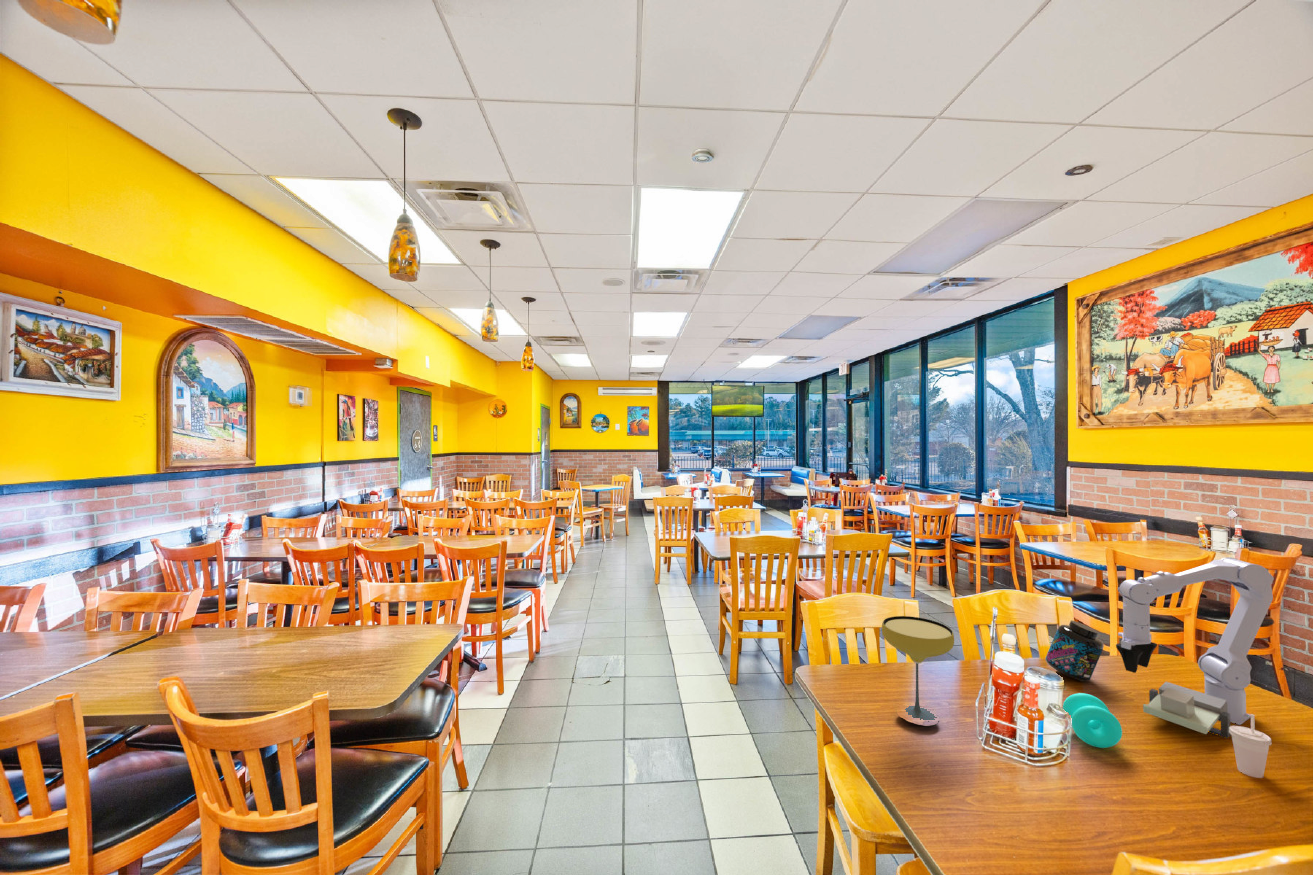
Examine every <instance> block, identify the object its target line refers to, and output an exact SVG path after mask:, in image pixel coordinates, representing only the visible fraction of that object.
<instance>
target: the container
mask: <svg viewBox="0 0 1313 875" xmlns="http://www.w3.org/2000/svg"><path fill="white" fill-rule="evenodd" d="M1099 634H1100V632H1099V630H1098V631H1097V630H1096V629H1094V628H1093V627H1090V626H1088V625H1086V624H1084V623H1082V622H1079V621H1075V620H1070V621H1069V624H1061V625H1059V626H1058V628H1057V629H1056V632H1055V633H1054V636H1053V639H1052V642H1051V643H1050V646H1049V648H1048V651H1047V654H1046V656H1045V662H1046V663H1047V665H1049V666H1050V667H1051V668H1052V669H1054V670H1056V671H1057V672H1059V673H1061V674H1063V675H1065V676H1067V677H1069V678H1072V679H1074V680H1077V681H1079V682H1088V681H1091V679H1092V676H1093V673H1094V671H1095V669H1096V667H1097V665H1098V662H1099V660H1100V658H1101V655H1102V652H1103V650H1104V642H1102V640H1101V639H1099V638H1098V637H1099Z"/></svg>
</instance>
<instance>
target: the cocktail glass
mask: <svg viewBox="0 0 1313 875" xmlns="http://www.w3.org/2000/svg"><path fill="white" fill-rule="evenodd" d="M881 634H882V637H883V638H884V640H885V641H886V642H887V643H888V644H889V645H891V646H892V647H893V648H895V649H897V650H898V651H901V652H903V654H906V655H907V656H909V658H910V659H911V661H913V662H914V664H915V702H914V705H915V706H909V707H908V708H906V709H905V710H906V712H908V715H912V717H913V718H920V720H921V719H923V720H935V719H934V718H937V717H935V716H934V714H932V713H930V711H931V710H930V711H927V709H928V708H926V709H924V708H925V707H923V708H920V707H921V706H920V699H919V698H920V696H919V690H920V688H919V665H920V664H921V663H923V661H925V660H926V659H928V658H933V657H934V658H935V657H939V656H941V655H942V656H943V655H944V654H947V653H948V652H950V651H951V650H952V649H953V648H954V645H955V635H954V631H953V630H952V629H951V628H950V627H949V626H947V625H945V624H943V623H941V622H938V621H935V620H932V619H928V618H923V617H919V616H918V617H917V616H910V615H909V616H907V615H898V616H897V615H895V616H891V617H887V618H885V619H883V621H882V624H881ZM928 722H929V721H928Z"/></svg>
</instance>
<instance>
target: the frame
mask: <svg viewBox="0 0 1313 875" xmlns="http://www.w3.org/2000/svg"><path fill="white" fill-rule="evenodd" d="M1148 694H1149V696H1148V698H1149V700H1148V701H1149V703H1150V702H1151V701H1152V700H1153V699H1154V698H1155V697H1156V696H1157V695H1158V694H1159V689H1158V690H1157V689H1154V688H1151V689H1149V693H1148ZM1149 703H1148V704H1149ZM1230 726H1231V722H1230V714H1229V713H1226V712H1223V713H1221V721H1220V729H1218V728H1215V727H1212V728H1211V729H1210V730H1209V732H1211V733H1214V734H1218V735H1220V736H1219V737H1221V736H1222V737H1221V738H1224V737H1226V738H1225V739H1227V738H1228V737H1229V738H1230V737H1232V735H1231V734H1230V732H1229V727H1230ZM1211 733H1210V734H1211ZM1214 734H1213V735H1214ZM1229 738H1228V739H1229Z"/></svg>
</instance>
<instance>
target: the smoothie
mask: <svg viewBox="0 0 1313 875" xmlns="http://www.w3.org/2000/svg"><path fill="white" fill-rule="evenodd" d="M1250 715H1251V717H1250V728H1249V727H1246V726H1241V725H1230V727H1229V732H1230V734H1231V740H1232V744H1233V745H1232V746H1233V750H1234V751H1233V752H1234V755H1235V761H1236V762H1235V763H1236V768H1237V771H1238V772H1240V773H1241V772H1242V774H1244V775H1245V776H1248V777H1252V778H1257V779H1258V778H1259V779H1262V778H1264V774H1265V771H1266V770H1265V769H1266V765H1267V758H1268V754H1269V748H1270V746H1271V745H1272V743H1273V742H1272V738H1271V737H1270V736H1269V735H1267V734H1266V733H1264V732H1262V731H1259V730H1257V729H1255V728H1256V727H1255V726H1256V725H1255V723H1256V722H1255V714H1253V713H1250Z"/></svg>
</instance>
